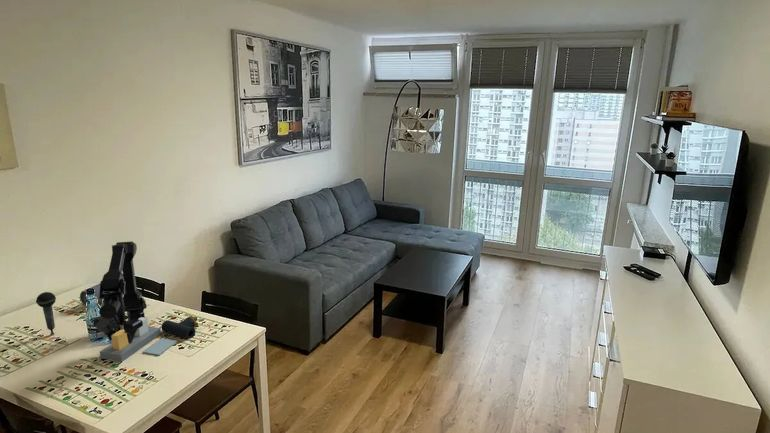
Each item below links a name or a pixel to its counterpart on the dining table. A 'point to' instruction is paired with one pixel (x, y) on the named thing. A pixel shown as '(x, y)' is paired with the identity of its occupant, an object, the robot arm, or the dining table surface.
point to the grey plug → (142, 327)
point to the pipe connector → (181, 327)
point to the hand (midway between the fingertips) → (120, 341)
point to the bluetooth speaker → (97, 292)
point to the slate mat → (160, 346)
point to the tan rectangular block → (119, 340)
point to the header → (130, 346)
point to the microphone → (47, 308)
